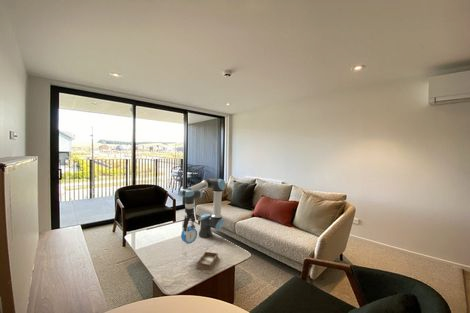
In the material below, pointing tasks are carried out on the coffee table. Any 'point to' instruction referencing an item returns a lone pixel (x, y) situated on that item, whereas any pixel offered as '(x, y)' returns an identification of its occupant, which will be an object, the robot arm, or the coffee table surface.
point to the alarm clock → (189, 235)
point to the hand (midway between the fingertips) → (189, 231)
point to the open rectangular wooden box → (207, 260)
